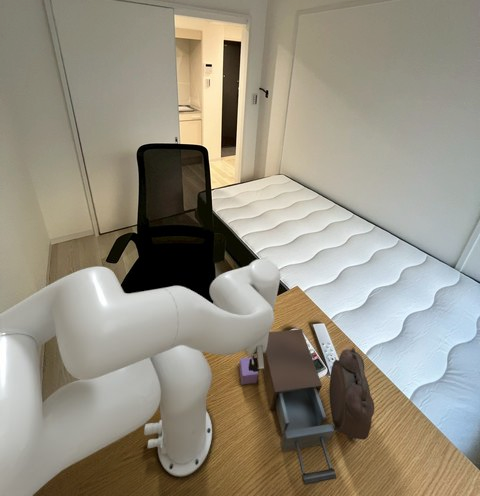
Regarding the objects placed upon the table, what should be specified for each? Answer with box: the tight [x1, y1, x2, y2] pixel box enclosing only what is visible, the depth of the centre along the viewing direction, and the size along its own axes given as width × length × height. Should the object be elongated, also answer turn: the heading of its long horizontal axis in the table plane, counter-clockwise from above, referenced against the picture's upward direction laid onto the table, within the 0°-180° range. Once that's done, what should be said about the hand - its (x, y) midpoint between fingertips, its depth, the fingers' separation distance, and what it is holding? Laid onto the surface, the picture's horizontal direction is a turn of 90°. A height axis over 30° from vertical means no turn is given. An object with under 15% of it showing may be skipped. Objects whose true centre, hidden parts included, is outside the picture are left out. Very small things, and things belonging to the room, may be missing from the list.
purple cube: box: [238, 356, 259, 385], centre depth 70 cm, size 4×4×4 cm
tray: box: [275, 388, 337, 486], centre depth 59 cm, size 20×11×7 cm, turn 8°
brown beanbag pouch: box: [328, 347, 376, 441], centre depth 60 cm, size 15×7×20 cm, turn 168°
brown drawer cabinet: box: [262, 328, 323, 410], centre depth 70 cm, size 15×13×9 cm
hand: (251, 349), depth 65 cm, fingers open, 8 cm apart
